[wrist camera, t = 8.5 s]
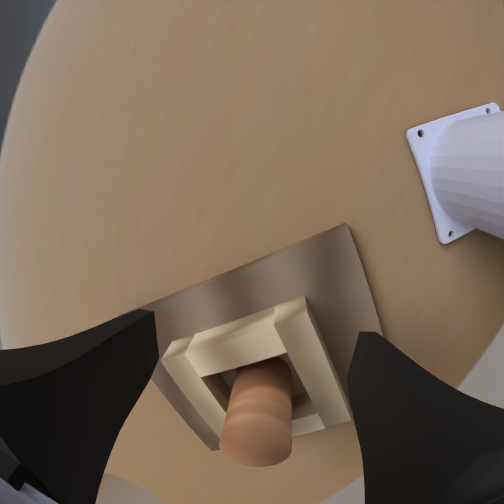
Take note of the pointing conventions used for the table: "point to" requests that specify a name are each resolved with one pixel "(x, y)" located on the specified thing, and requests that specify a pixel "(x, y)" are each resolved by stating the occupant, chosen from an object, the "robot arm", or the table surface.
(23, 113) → the table surface
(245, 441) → the peg
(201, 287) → the socket
